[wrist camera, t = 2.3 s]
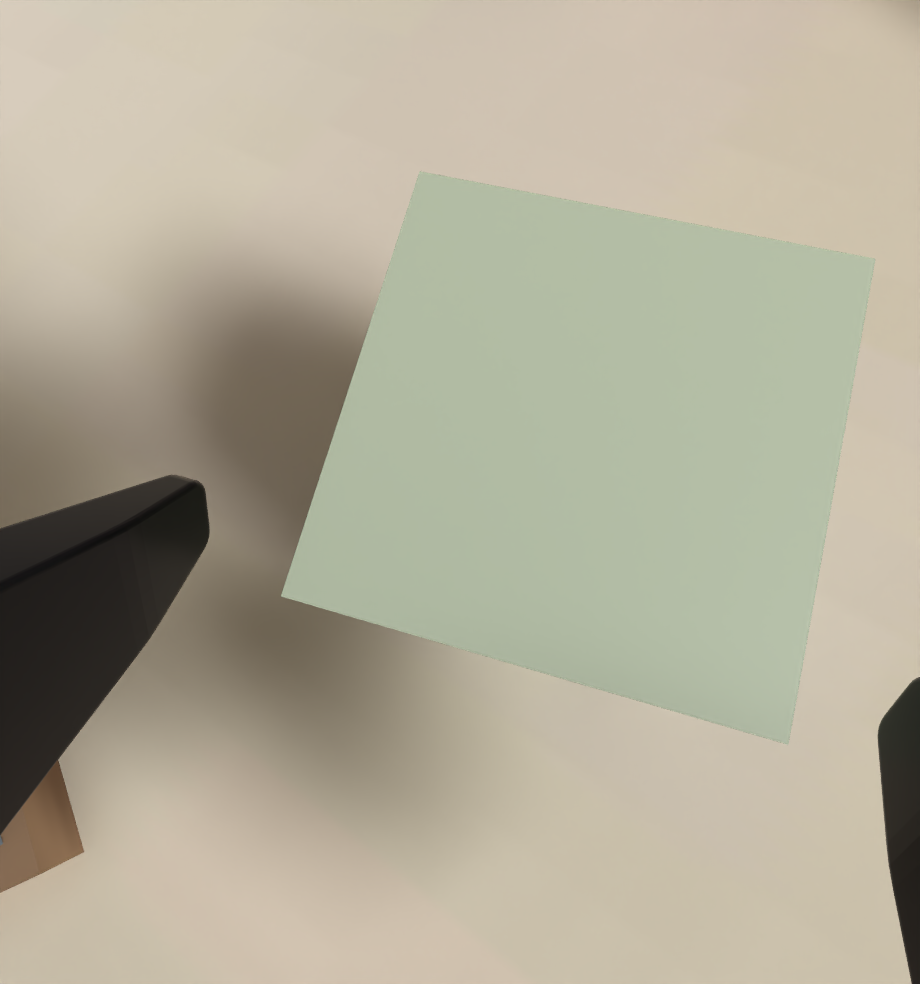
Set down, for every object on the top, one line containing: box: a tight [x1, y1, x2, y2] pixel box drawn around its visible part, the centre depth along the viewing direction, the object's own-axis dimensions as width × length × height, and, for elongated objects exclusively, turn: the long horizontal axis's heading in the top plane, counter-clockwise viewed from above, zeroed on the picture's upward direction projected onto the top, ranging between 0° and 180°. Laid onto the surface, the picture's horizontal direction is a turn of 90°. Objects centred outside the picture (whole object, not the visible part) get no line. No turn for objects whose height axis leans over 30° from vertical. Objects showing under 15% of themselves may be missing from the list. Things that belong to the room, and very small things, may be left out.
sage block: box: [281, 171, 875, 745], centre depth 12 cm, size 5×5×11 cm
